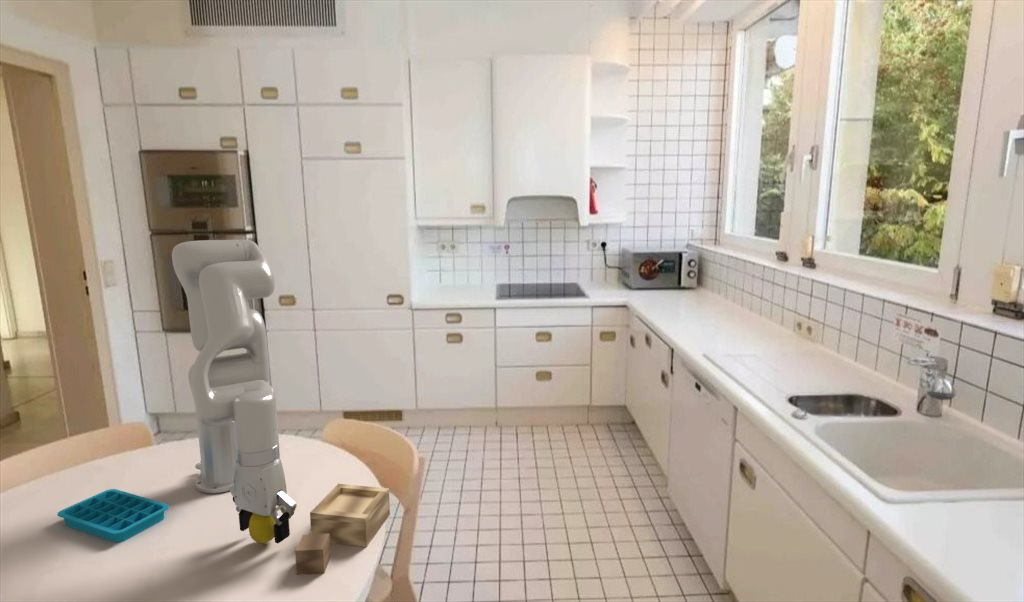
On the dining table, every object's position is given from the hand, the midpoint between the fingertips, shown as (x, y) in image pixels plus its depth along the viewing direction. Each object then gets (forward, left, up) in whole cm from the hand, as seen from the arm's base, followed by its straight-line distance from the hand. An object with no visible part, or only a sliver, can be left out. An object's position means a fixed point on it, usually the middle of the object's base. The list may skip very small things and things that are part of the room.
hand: (264, 533), depth 109 cm
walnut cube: (+14, -1, -2) cm, 14 cm away
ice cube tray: (-36, -8, -3) cm, 37 cm away
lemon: (0, 0, -3) cm, 3 cm away
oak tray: (+12, +12, -2) cm, 17 cm away
